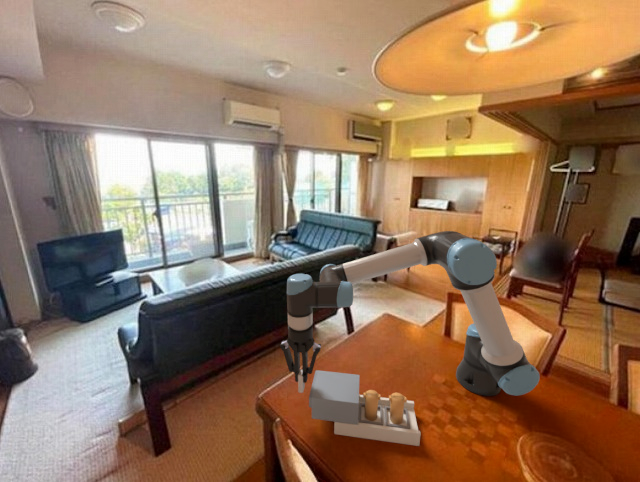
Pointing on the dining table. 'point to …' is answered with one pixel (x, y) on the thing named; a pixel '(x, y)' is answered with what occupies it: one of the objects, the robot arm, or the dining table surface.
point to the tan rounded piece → (371, 404)
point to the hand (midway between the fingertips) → (301, 389)
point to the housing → (383, 424)
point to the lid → (335, 397)
